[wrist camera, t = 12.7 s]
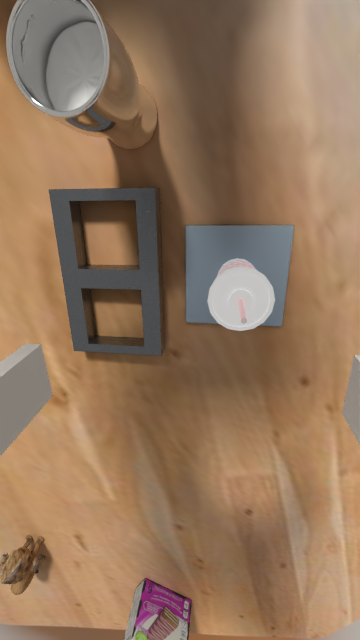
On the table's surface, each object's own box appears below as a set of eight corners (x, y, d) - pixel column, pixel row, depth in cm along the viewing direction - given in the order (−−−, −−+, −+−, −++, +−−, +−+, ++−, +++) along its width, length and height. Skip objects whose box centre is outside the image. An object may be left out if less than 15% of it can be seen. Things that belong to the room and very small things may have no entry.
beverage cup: (270, 290, 36) (296, 340, 23) (223, 309, 38) (222, 366, 25) (251, 242, 34) (268, 268, 21) (202, 265, 36) (190, 301, 23)
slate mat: (186, 225, 35) (185, 225, 35) (293, 225, 34) (294, 225, 33) (186, 321, 39) (186, 322, 39) (281, 324, 38) (281, 326, 37)
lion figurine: (17, 521, 60) (-16, 572, 52) (42, 525, 60) (13, 577, 52) (28, 566, 66) (0, 619, 58) (51, 571, 65) (26, 624, 57)
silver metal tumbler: (175, 113, 31) (136, 44, 17) (133, 168, 34) (69, 146, 20) (125, 58, 30) (40, -62, 16) (85, 120, 33) (-18, 61, 19)
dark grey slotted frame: (60, 190, 36) (48, 189, 33) (159, 188, 34) (154, 187, 32) (82, 342, 43) (74, 350, 41) (164, 347, 41) (161, 355, 39)
